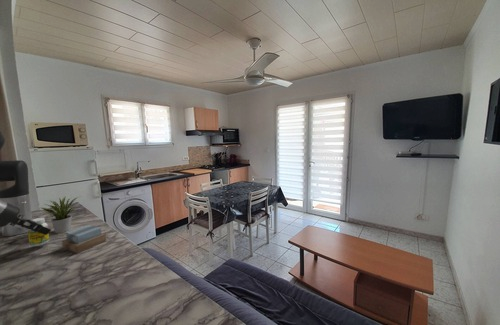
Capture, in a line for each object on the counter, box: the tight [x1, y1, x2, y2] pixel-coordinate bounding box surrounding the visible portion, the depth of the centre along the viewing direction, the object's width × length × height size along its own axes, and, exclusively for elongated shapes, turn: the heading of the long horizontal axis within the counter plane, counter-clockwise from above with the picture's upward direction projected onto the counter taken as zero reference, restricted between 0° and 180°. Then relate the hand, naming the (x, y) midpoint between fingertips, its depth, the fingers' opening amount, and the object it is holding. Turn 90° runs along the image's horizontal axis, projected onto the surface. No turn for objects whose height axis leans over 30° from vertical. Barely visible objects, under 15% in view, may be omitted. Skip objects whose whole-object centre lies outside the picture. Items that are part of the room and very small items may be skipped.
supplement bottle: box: [27, 217, 50, 247], centre depth 77 cm, size 5×5×10 cm
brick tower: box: [61, 224, 107, 254], centre depth 80 cm, size 10×10×6 cm
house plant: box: [40, 196, 82, 234], centre depth 93 cm, size 14×14×16 cm
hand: (44, 230), depth 79 cm, fingers closed on supplement bottle, 5 cm apart
